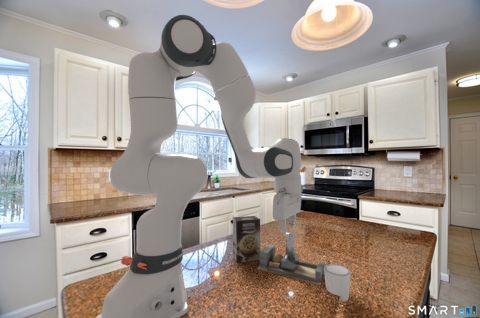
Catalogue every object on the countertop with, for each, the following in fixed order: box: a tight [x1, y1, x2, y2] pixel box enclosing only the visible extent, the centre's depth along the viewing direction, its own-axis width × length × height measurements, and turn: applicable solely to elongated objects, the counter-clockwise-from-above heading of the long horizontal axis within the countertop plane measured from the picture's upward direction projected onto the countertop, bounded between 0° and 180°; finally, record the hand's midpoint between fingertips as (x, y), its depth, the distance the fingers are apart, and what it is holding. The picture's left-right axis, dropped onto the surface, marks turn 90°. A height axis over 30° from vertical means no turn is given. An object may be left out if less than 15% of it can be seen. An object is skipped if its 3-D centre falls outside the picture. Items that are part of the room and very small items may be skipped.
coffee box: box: [232, 215, 261, 263], centre depth 81 cm, size 9×6×16 cm
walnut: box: [272, 252, 284, 266], centre depth 75 cm, size 4×4×4 cm
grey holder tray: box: [256, 243, 326, 286], centre depth 73 cm, size 11×20×6 cm, turn 60°
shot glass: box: [324, 263, 352, 302], centre depth 61 cm, size 7×7×7 cm
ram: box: [281, 231, 300, 273], centre depth 73 cm, size 7×4×12 cm, turn 150°
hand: (287, 229), depth 73 cm, fingers open, 8 cm apart
